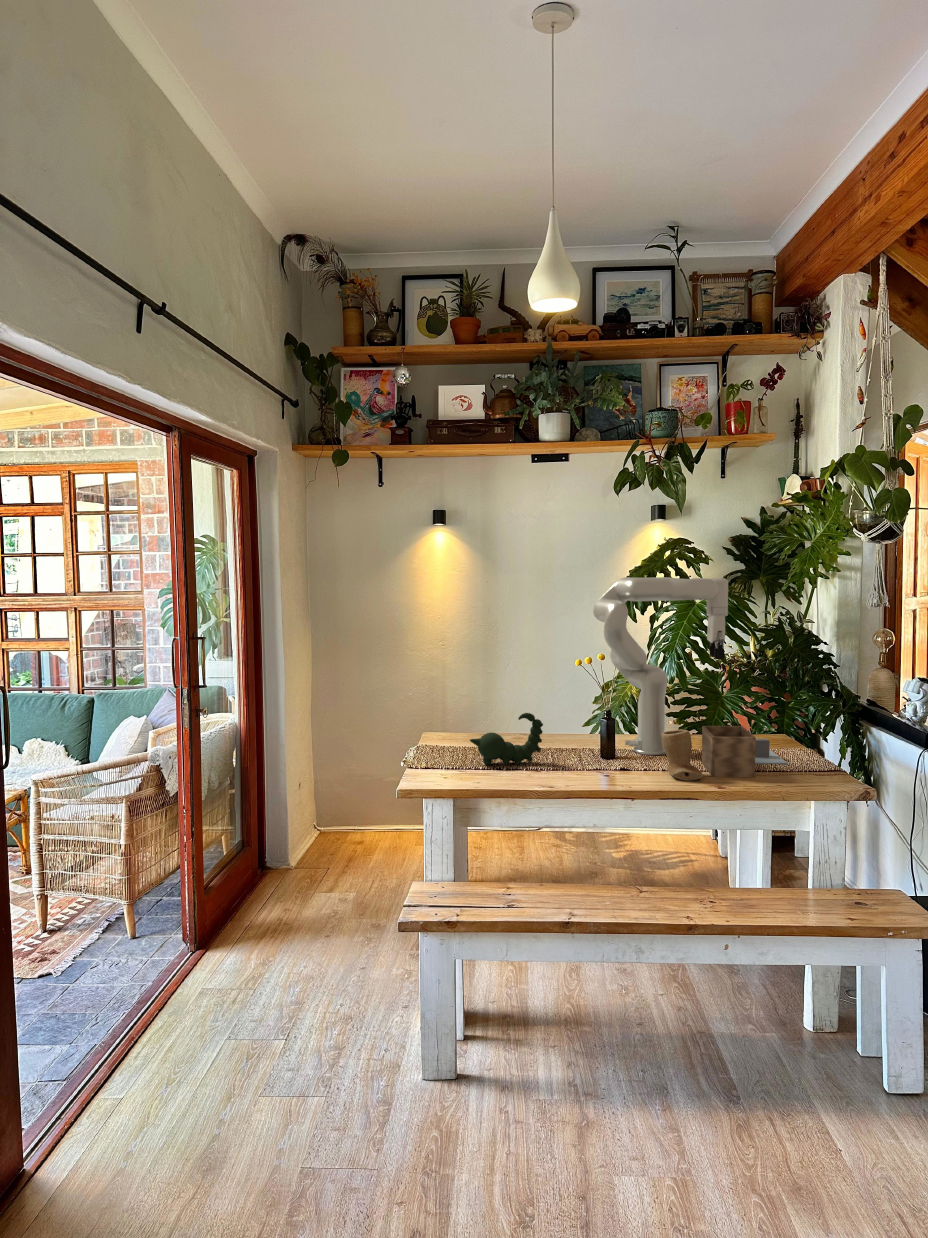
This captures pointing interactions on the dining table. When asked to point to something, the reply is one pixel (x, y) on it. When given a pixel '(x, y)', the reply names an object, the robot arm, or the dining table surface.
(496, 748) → the toy figurine
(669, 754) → the tan boot
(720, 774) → the crate
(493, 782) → the dining table surface
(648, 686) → the robot arm
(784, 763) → the lid
